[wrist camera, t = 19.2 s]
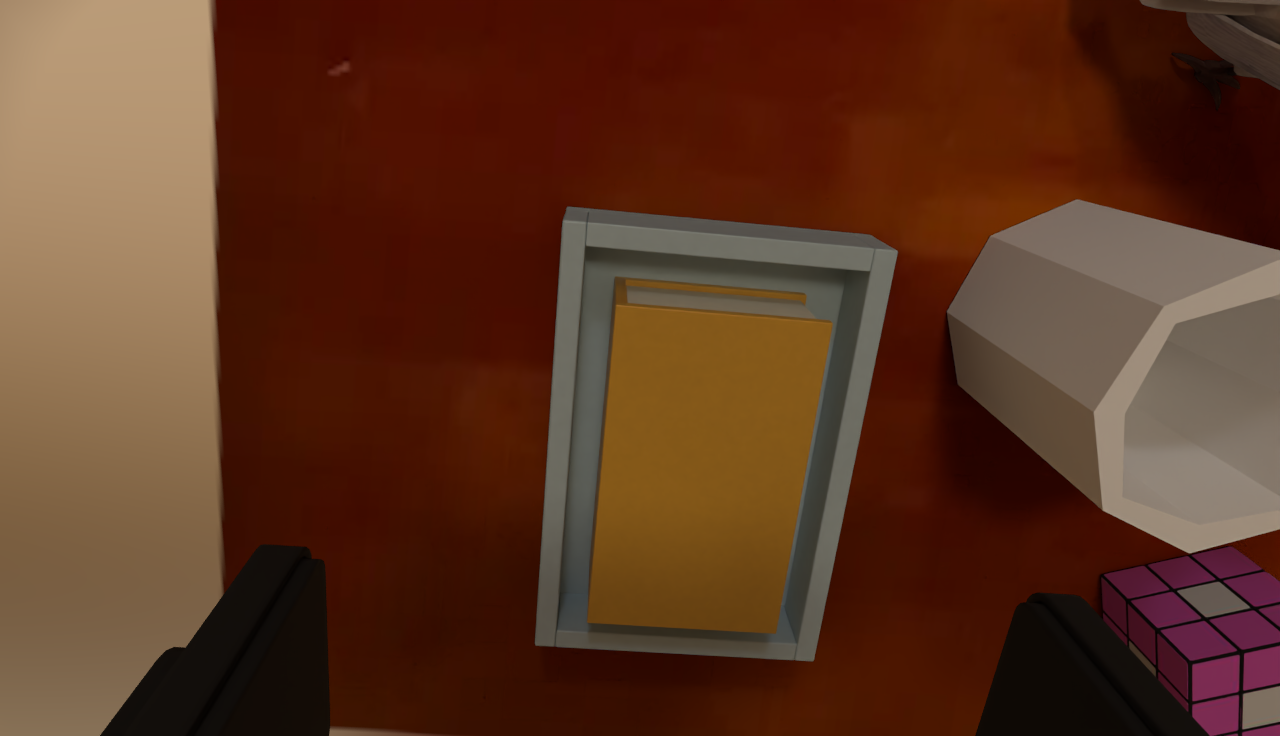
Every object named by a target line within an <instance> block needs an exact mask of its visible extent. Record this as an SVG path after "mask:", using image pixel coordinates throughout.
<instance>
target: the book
mask: <svg viewBox="0 0 1280 736" xmlns="http://www.w3.org/2000/svg"><path fill="white" fill-rule="evenodd" d="M806 298H807V295H806V294H805V293H801V292H790V291H778V290H767V289H755V288H744V287H732V286H721V285H710V284H698V283H687V282H675V281H664V280H652V279H641V278H629V277H618V276H616V277H615V279H614V290H613V301H612V313H611V324H610V335H609V346H608V358H607V369H606V380H605V392H604V403H603V414H602V425H601V437H600V448H599V459H598V470H597V482H596V493H595V504H594V515H593V527H592V538H591V549H590V560H589V585H588V610H587V623H597V624H615V625H632V626H649V627H667V628H684V629H701V630H718V631H736V632H753V633H770V634H776V631H777V626H778V620H779V615H780V609H781V604H782V599H783V593H784V588H785V582H786V577H787V571H788V566H789V561H790V555H791V550H792V544H793V539H794V533H795V528H796V523H797V517H798V512H799V506H800V501H801V495H802V490H803V484H804V479H805V474H806V468H807V463H808V457H809V452H810V446H811V441H812V436H813V430H814V425H815V419H816V414H817V408H818V403H819V397H820V392H821V387H822V381H823V376H824V370H825V365H826V359H827V354H828V349H829V343H830V338H831V332H832V327H833V323H832V322H831V321H830V320H823V319H816V318H815V317H814V315H813V314H812V313H811V312H810V311H809V310H808V309H807V307H806V306H805V304H806Z"/></svg>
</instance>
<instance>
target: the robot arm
mask: <svg viewBox="0 0 1280 736" xmlns="http://www.w3.org/2000/svg"><path fill="white" fill-rule="evenodd" d="M329 731H330V703H329V671H328V639H327V608H326V576H325V564H324V561H323V560H321V559H312V558H311V553H310V550H309V549H308V548H307V547H297V546H281V545H265V544H264V545H260V546H259V547H258V548H257V549H256V550H255V552H254V553H253V555H252V556H251V557H250V559H249V560H248V562H247V563H246V564H245V566H244V567H243V568H242V570H241V571H240V573H239V574H238V575H237V577H236V578H235V580H234V581H233V582H232V584H231V585H230V587H229V588H228V589H227V591H226V592H225V594H224V595H223V596H222V598H221V599H220V601H219V602H218V603H217V605H216V606H215V608H214V609H213V610H212V612H211V613H210V615H209V616H208V617H207V619H206V620H205V621H204V623H203V624H202V626H201V627H200V628H199V630H198V631H197V633H196V634H195V635H194V637H193V638H192V640H191V641H190V643H189V644H188V645H187V647H186V648H181V647H173V648H171V649H169V650H166V651H165V652H164V653H163V654H162V655H161V656H160V657H159V658H158V660H157V661H156V662H155V663H154V665H153V666H152V667H151V669H150V670H149V671H148V673H147V674H146V675H145V676H144V678H143V679H142V680H141V682H140V683H139V685H138V686H137V687H136V688H135V690H134V691H133V693H132V694H131V695H130V697H129V698H128V699H127V700H126V702H125V703H124V704H123V706H122V707H121V709H120V710H119V711H118V712H117V714H116V715H115V716H114V718H113V719H112V720H111V722H110V723H109V724H108V726H107V727H106V728H105V730H104V731H103V732H102V734H101V735H100V736H329ZM976 736H1210V735H1209V734H1208V733H1207V732H1206V731H1205V730H1204V729H1203V728H1202V727H1201V725H1200V724H1199V723H1198V722H1197V721H1196V720H1195V719H1194V718H1193V717H1192V716H1191V715H1190V713H1189V712H1188V711H1187V710H1186V709H1185V708H1184V707H1183V706H1182V705H1181V704H1180V703H1179V702H1178V700H1177V699H1176V698H1175V697H1174V696H1173V695H1172V694H1171V693H1170V692H1169V691H1168V690H1167V689H1166V687H1165V686H1164V685H1163V684H1162V683H1161V682H1160V681H1159V680H1158V679H1157V678H1156V677H1155V676H1154V674H1153V673H1152V672H1151V671H1150V670H1149V669H1148V668H1147V667H1146V666H1145V665H1144V664H1143V663H1142V661H1141V660H1140V659H1139V658H1138V657H1137V656H1136V655H1135V654H1134V653H1133V652H1132V651H1131V650H1130V648H1129V647H1128V646H1127V645H1126V644H1125V643H1124V642H1123V641H1122V640H1121V639H1120V638H1119V637H1118V635H1117V634H1116V633H1115V632H1114V631H1113V630H1112V629H1111V628H1110V627H1109V626H1108V625H1107V624H1106V622H1105V621H1104V620H1103V619H1102V618H1101V617H1100V616H1099V615H1098V614H1097V613H1096V612H1095V611H1094V609H1093V608H1092V607H1091V606H1090V605H1089V604H1088V603H1087V602H1086V601H1085V600H1084V599H1082V598H1081V597H1080V596H1076V595H1067V594H1051V593H1035V594H1032V595H1031V596H1030V597H1029V598H1028V599H1027V602H1026V603H1020V604H1019V605H1018V606H1017V608H1016V610H1015V612H1014V615H1013V618H1012V621H1011V624H1010V628H1009V631H1008V634H1007V637H1006V640H1005V643H1004V647H1003V650H1002V653H1001V656H1000V659H999V663H998V666H997V669H996V672H995V675H994V678H993V682H992V685H991V688H990V691H989V694H988V697H987V701H986V704H985V707H984V710H983V713H982V716H981V720H980V723H979V726H978V729H977V732H976Z"/></svg>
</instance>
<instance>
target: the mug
mask: <svg viewBox="0 0 1280 736" xmlns="http://www.w3.org/2000/svg"><path fill="white" fill-rule="evenodd" d="M947 317H948V324H949V330H950V337H951V343H952V350H953V356H954V363H955V369H956V376H957V383H958V385H959V386H960V387H961V388H962V389H964V390H965V391H966V392H967V393H968V394H969V395H971V396H972V397H973V398H974V399H975V400H976V401H977V402H979V403H980V404H981V405H982V406H983V407H984V408H985V409H987V410H988V411H989V412H990V413H991V414H992V415H994V416H995V417H996V418H997V419H998V420H999V421H1000V422H1002V423H1003V424H1004V425H1005V426H1006V427H1007V428H1008V429H1010V430H1011V431H1012V432H1013V433H1014V434H1015V435H1017V436H1018V437H1019V438H1020V439H1021V440H1022V441H1023V442H1025V443H1026V444H1027V445H1028V446H1029V447H1030V448H1032V449H1033V450H1034V451H1035V452H1036V453H1037V454H1038V455H1040V456H1041V457H1042V458H1043V459H1044V460H1045V461H1046V462H1048V463H1049V464H1050V465H1051V466H1052V467H1053V468H1055V469H1056V470H1057V471H1058V472H1059V473H1060V474H1061V475H1063V476H1064V477H1065V478H1066V479H1067V480H1068V481H1069V482H1071V483H1072V484H1073V485H1074V486H1075V487H1076V488H1078V489H1079V490H1080V491H1081V492H1082V493H1083V494H1084V495H1086V496H1087V497H1088V498H1089V499H1090V500H1091V501H1092V502H1094V503H1095V504H1096V505H1097V506H1098V507H1099V508H1101V509H1102V510H1103V511H1105V512H1107V513H1109V514H1111V515H1113V516H1115V517H1117V518H1119V519H1121V520H1123V521H1125V522H1127V523H1129V524H1131V525H1133V526H1135V527H1137V528H1139V529H1141V530H1143V531H1145V532H1147V533H1149V534H1151V535H1153V536H1155V537H1157V538H1159V539H1161V540H1163V541H1165V542H1167V543H1169V544H1171V545H1173V546H1175V547H1177V548H1179V549H1181V550H1183V551H1185V552H1187V553H1193V552H1197V551H1200V550H1204V549H1208V548H1211V547H1215V546H1219V545H1223V544H1226V543H1230V542H1234V541H1237V540H1241V539H1245V538H1249V537H1252V536H1256V535H1260V534H1263V533H1267V532H1271V531H1274V530H1278V529H1280V251H1279V250H1275V249H1272V248H1268V247H1264V246H1260V245H1256V244H1252V243H1248V242H1244V241H1240V240H1236V239H1232V238H1228V237H1224V236H1220V235H1216V234H1212V233H1208V232H1204V231H1200V230H1196V229H1192V228H1188V227H1184V226H1180V225H1176V224H1172V223H1169V222H1165V221H1161V220H1157V219H1153V218H1149V217H1145V216H1141V215H1137V214H1133V213H1129V212H1125V211H1121V210H1117V209H1113V208H1109V207H1105V206H1101V205H1097V204H1093V203H1089V202H1085V201H1081V200H1077V199H1076V200H1074V201H1072V202H1069V203H1067V204H1065V205H1062V206H1060V207H1058V208H1055V209H1053V210H1050V211H1048V212H1046V213H1043V214H1041V215H1039V216H1036V217H1034V218H1032V219H1029V220H1027V221H1024V222H1022V223H1020V224H1017V225H1015V226H1013V227H1010V228H1008V229H1006V230H1003V231H1001V232H998V233H996V234H994V235H991V236H990V237H989V239H988V241H987V243H986V244H985V246H984V248H983V250H982V251H981V253H980V255H979V256H978V258H977V260H976V262H975V263H974V265H973V267H972V269H971V270H970V272H969V274H968V276H967V277H966V279H965V281H964V283H963V284H962V286H961V288H960V289H959V291H958V293H957V295H956V296H955V298H954V300H953V302H952V303H951V305H950V307H949V309H948V310H947Z"/></svg>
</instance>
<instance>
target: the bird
mask: <svg viewBox="0 0 1280 736" xmlns="http://www.w3.org/2000/svg"><path fill="white" fill-rule="evenodd" d="M1140 2H1141V3H1142V4H1143V5H1146V6H1149V7H1152V8H1158V9H1165V10H1173V11H1181V12H1186V18H1187V22H1188V26H1189V27H1190V29H1191V30H1192V32H1193V33H1194V35H1195V36H1196V37H1197V38H1198V39H1199V40H1200V41H1201V42H1203V43H1204V44H1205V45H1206V46H1208V47H1209V48H1210V49H1211V50H1213V51H1214V52H1215V53H1216V54H1217V55H1219V56H1220V57H1221V58H1223V59H1225V60H1222V61H1219V62H1218V61H1213V60H1205V61H1201V60H1199V59H1197V58H1195V57H1193V56H1190V55H1186V54H1180V53H1171V54H1172V55H1173V56H1175V57H1177V58H1178V59H1180V60H1182V61H1184V62H1186V63H1187V64H1189V65H1190V66H1191V67H1193V68H1194V70H1195V75H1194V76H1195V77H1196V79H1197V80H1198V81H1199V82H1202V83H1203V84H1204V85H1205V86H1206V87H1207V88H1208V89H1209V91H1210V93H1211V95H1212V96H1213V98H1214V101H1215V105H1216V110H1217V111H1218V108H1219V106H1220V104H1221V91H1220V88H1219V85H1218V83H1217V81H1219V82H1221V83H1223V84H1226V85H1229V86H1231V87H1234V88H1236V89H1240V84H1239V82H1238V81H1237V80H1236V79H1234V78H1233V77H1231V76H1235V75H1239V76H1245V77H1254V78H1259V79H1261V80H1263V81H1264V82H1266V83H1268V84H1270V85H1272V86H1273V87H1275V88H1277V89H1279V90H1280V0H1140ZM1232 66H1234V67H1232Z"/></svg>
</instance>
